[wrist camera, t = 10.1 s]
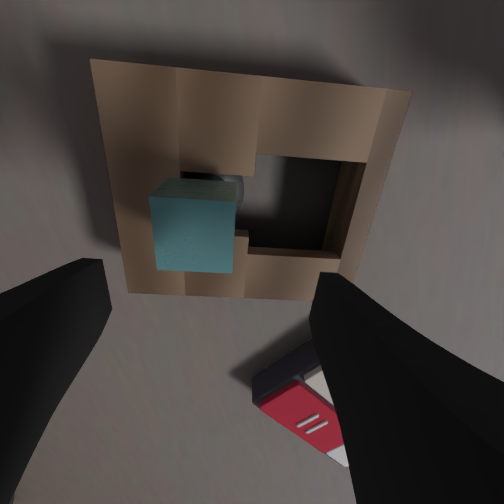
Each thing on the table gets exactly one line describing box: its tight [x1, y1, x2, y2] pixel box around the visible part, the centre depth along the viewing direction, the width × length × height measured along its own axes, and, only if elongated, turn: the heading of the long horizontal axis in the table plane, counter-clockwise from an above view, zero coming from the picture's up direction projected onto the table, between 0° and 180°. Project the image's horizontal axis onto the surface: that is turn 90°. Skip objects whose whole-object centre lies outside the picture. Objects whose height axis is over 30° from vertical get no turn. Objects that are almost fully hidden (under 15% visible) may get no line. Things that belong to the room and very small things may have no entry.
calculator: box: [252, 339, 349, 467], centre depth 27 cm, size 11×4×15 cm
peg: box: [149, 171, 244, 273], centre depth 14 cm, size 4×4×8 cm
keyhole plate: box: [90, 59, 413, 301], centre depth 16 cm, size 14×12×4 cm
